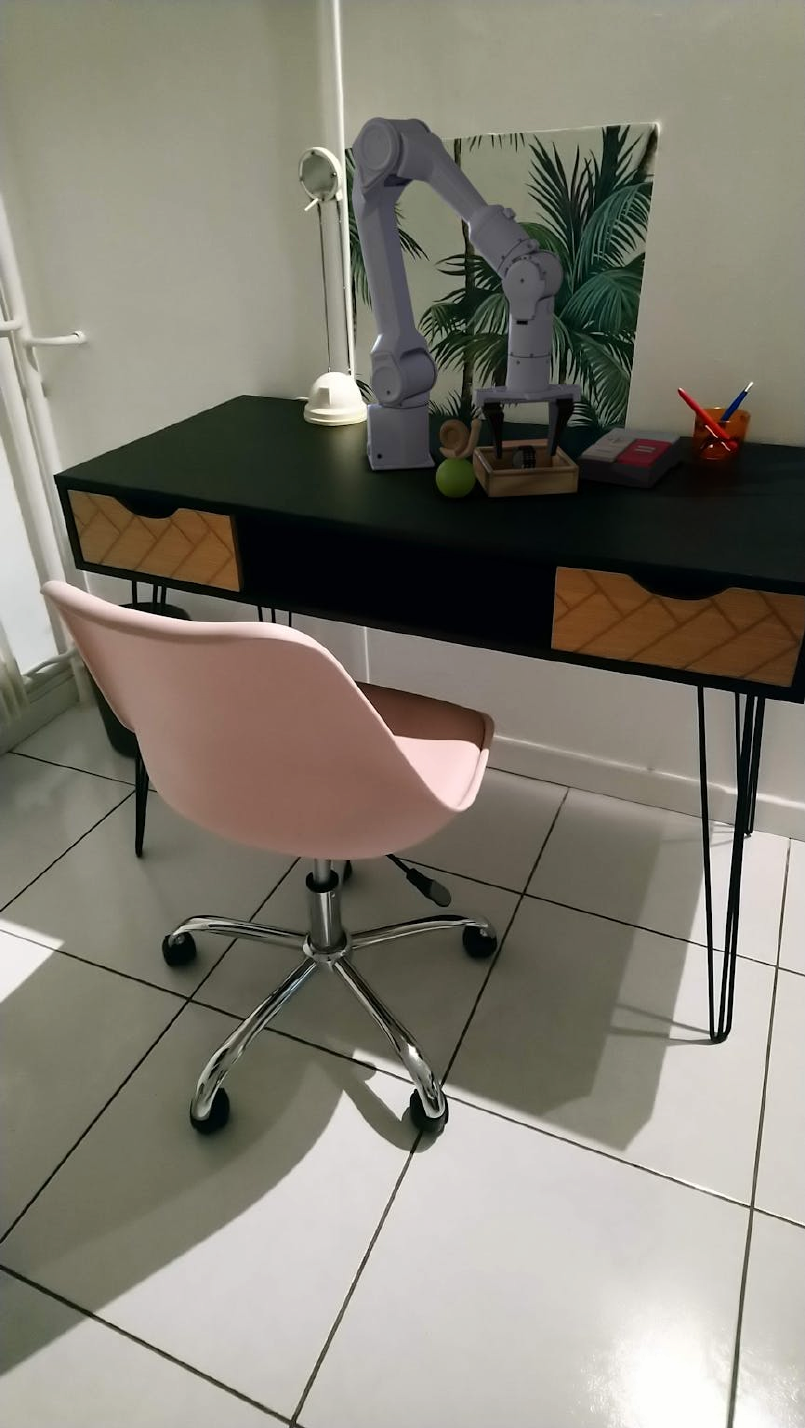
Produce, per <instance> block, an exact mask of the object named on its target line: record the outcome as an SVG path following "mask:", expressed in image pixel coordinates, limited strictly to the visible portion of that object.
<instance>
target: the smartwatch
mask: <svg viewBox="0 0 805 1428" xmlns="http://www.w3.org/2000/svg"><path fill="white" fill-rule="evenodd" d="M536 459H537V455H536V451H535V450H534V449H533V446H532V445H520V446H519V447H518V449H516V450H515V451H514V452H513V454H512V456H511V462H512V466H514V467H515V468H516V469H530V468H536Z"/></svg>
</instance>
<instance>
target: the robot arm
mask: <svg viewBox="0 0 805 1428" xmlns="http://www.w3.org/2000/svg"><path fill="white" fill-rule="evenodd" d="M351 150H352V154H353V155H352V156H353V159H354V164H355V166H354V174H353V184H352V191H351V202H352V208H353V213H354V217H355V223H356V228H357V234H358V238H359V244H360V249H361V254H362V259H363V264H364V269H365V275H366V280H367V285H368V289H369V295H370V301H371V306H372V310H373V316H374V323H375V327H376V331H377V339H376V341H375V343H374V345H373V347H372V349H371V351H370V354H369V357H370V362H371V370H370V375H369V384H370V388H371V391H372V394H373V395H374V397H375V399H376V400H377V401H378V403H371V404H367V406H366V424H367V425H366V426H367V428H366V429H367V442H366V454H367V456H368V460H369V463H370V467H371V470H372V471H386V470H387V471H389V470H404V469H406V470H407V469H421V468H425V469H426V468H435V466H436V463H435V461H434V460H433V457H432V456H431V453H430V402H429V401H430V398H431V391H432V389H434V387H435V386H436V383H437V381H438V375H439V370H438V367H437V364H436V361H435V359H434V358H433V356H432V353H431V352H430V350H429V346H428V341H427V339H426V338H425V336H423V334H422V333H421V332H419V330H418V329H417V327H416V324H415V323H416V322H415V318H414V313H413V312H414V311H413V306H412V301H411V295H410V290H409V284H408V278H407V272H406V266H405V259H404V256H403V250H402V249H403V248H402V244H401V238H400V231H399V226H398V222H397V214H396V210H395V206H396V204H397V203H398V201H399V199H400V197H401V195H402V194H403V192H404V190H405V189H406V188H407V187H408V186H409V185H410V184H411V183H413V182H414V181H419V182H424V183H426V184H427V185H428V186H429V187H430V188H431V189H432V190H433V191H434V192H435V193H436V195H438V196H439V197H440V198H441V199H442V200H443V201H444V202H445V203H446V204H447V205H448V207H450V209H451V210H453V212H455V214H456V215H457V216H458V217H460V219H461V220H462V221H463V222H464V223H465V225H467V226H468V241H469V244H471V245H472V246H473V248H474V249H475V250H476V251H477V252H478V254H479V255H480V256H481V257H482V258H483V259H484V260H485V261H486V263H487V264H488V265H489V266H490V267H491V268H492V270H493V271H494V272H495V273H496V274H497V276H499V277H500V278H501V285H502V290H503V293H504V296H505V297H506V299H507V301H508V303H509V316H508V317H509V319H508V320H509V321H508V349H507V369H506V370H507V371H506V373H507V374H506V375H507V376H506V385H501V386H500V385H499V386H492V387H486V388H475V389H473V405H474V406H475V407H476V408H480V410H483V413H482V415H483V416H484V419H485V421H486V422H485V423H486V424H487V427H488V430H489V435H490V437H491V443H492V446H493V449H494V456H495V458H496V459H502V441H503V431H504V420H505V412H504V411H503V406H501V405H516V404H536V403H547V404H548V432H547V439H548V440H547V453H548V454H549V455H550V456H555V455H556V450H557V447H558V446H559V443H560V440H561V438H562V435H563V432H564V430H565V428H566V426H567V424H568V422H569V421H570V419H571V417H572V416H573V414H574V412H575V406H576V405H575V404H574V403H579V402H581V401H582V390H583V388H582V386H581V385H580V384H578V383H575V384H568V383H567V384H565V383H564V384H563V383H562V384H561V383H560V384H559V383H550V381H551V379H550V378H551V363H552V349H553V348H552V347H553V331H554V311H555V295H556V294H557V293H558V292H559V290H560V288H561V286H562V283H563V278H564V271H563V270H564V269H563V266H562V264H561V262H560V260H559V259H558V256H557V254H556V253H555V252H553V251H552V250H548V249H541V248H539V247H540V246H541V243H540V242H539V241H538V239H537V238H531V237H530V236H529V234H528V233H527V232H526V231H525V229H523V228H522V226H521V225H520V224H519V223H518V222H517V221H516V220H515V218H516V217H517V213H516V212H515V211H514V209H513V208H512V207H504V206H503V205H502V204H500V203H499V204H489V203H487V201H486V200H485V199H484V197H483V196H482V194H481V193H480V191H478V189H476V187H475V186H474V184H473V183H472V182H471V180H470V179H469V178H468V177H467V176H466V175H465V173H464V172H463V170H462V169H461V168H460V166H459V165H458V164H457V163H456V162H455V160H454V159H453V157H452V156H451V154H450V153H449V152H448V151H447V149H446V148H445V145H444V144H443V142H442V139H441V138H440V137H439V136H438V135H437V134H435V132H432V131H431V129H430V127H429V126H428V124H427V123H426V122H424V121H423V120H422V119H419V118H414V117H413V118H407V119H400V118H399V119H396V118H385V117H382V116H376V117H375V116H374V117H372V118H370V119H369V120H367V121H366V122H365V123H364V124H363V126H362V127H361V129H360V131H359V132H358V134H357V136H356V138H355V139H354V142H353V144H352V145H351Z"/></svg>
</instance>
